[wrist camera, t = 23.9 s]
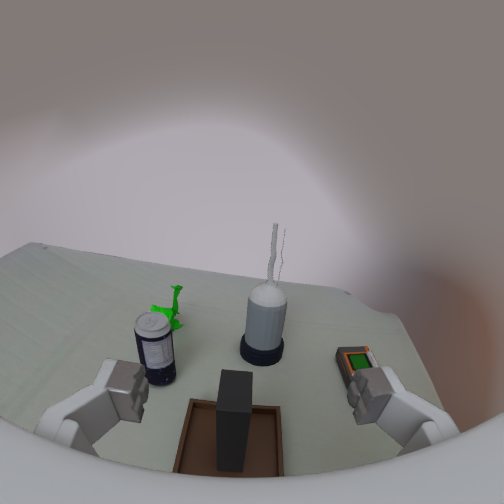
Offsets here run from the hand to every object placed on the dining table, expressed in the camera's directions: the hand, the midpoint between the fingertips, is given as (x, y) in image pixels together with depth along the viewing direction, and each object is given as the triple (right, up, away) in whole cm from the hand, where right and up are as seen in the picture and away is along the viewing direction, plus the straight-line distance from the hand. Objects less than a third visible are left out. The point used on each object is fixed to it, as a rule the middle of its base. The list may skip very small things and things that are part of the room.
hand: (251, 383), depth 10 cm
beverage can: (-15, -16, +33) cm, 40 cm away
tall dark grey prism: (-3, -21, +20) cm, 29 cm away
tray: (-3, -22, +20) cm, 30 cm away
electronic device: (+20, -19, +35) cm, 44 cm away
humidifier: (+2, -14, +43) cm, 45 cm away
